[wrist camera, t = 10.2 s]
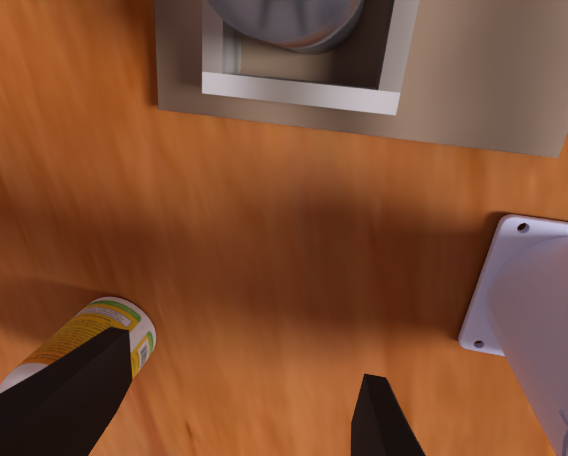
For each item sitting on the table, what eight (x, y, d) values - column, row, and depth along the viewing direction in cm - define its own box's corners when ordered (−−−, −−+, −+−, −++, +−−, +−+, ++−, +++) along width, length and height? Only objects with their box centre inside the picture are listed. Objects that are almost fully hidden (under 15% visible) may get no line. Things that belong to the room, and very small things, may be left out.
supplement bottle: (71, 306, 26) (-77, 428, 17) (130, 284, 24) (0, 407, 15) (114, 365, 27) (-2, 506, 19) (172, 348, 26) (76, 494, 17)
